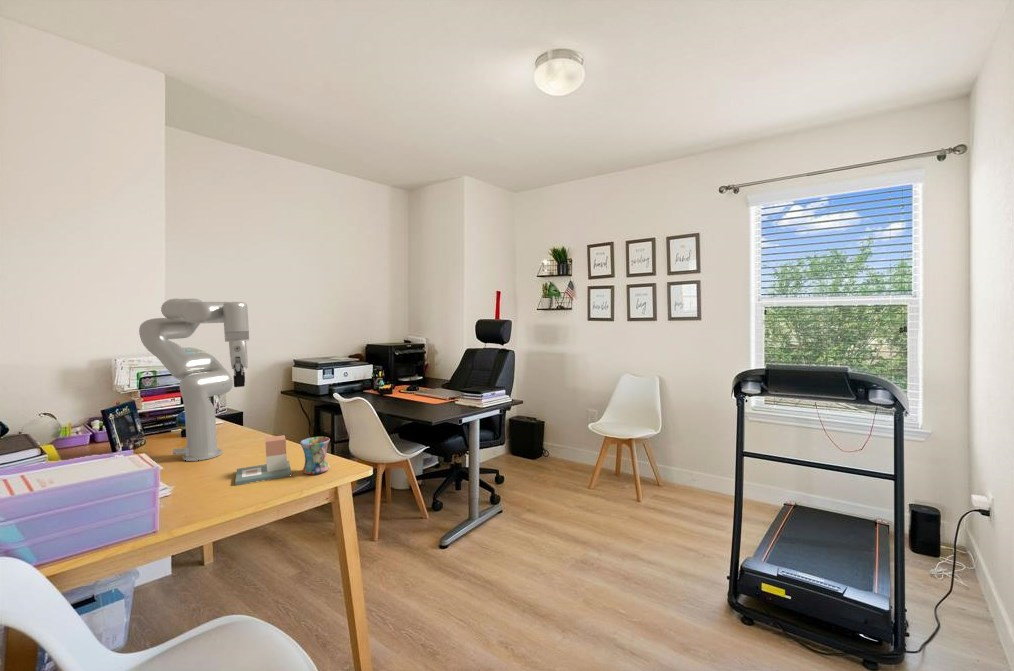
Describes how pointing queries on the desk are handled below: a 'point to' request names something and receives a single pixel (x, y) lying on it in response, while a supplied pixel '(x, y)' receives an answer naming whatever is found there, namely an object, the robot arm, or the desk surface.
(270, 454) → the terracotta brick
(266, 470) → the baseplate
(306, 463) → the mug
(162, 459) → the desk surface
